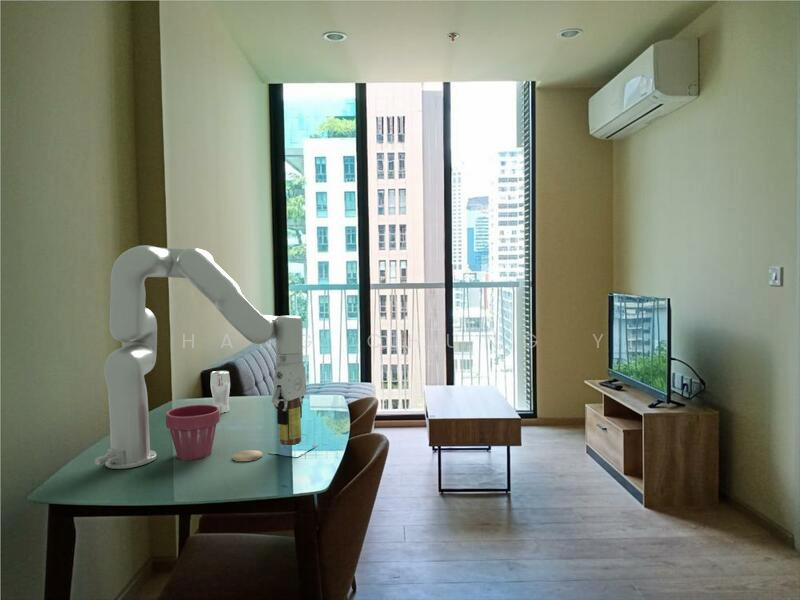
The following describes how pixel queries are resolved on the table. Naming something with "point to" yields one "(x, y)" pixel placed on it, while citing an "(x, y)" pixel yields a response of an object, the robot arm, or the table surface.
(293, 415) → the sauce bottle
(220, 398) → the beer glass
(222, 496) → the table surface
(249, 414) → the table surface
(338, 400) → the table surface
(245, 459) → the coaster
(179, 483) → the table surface
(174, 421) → the plant pot
